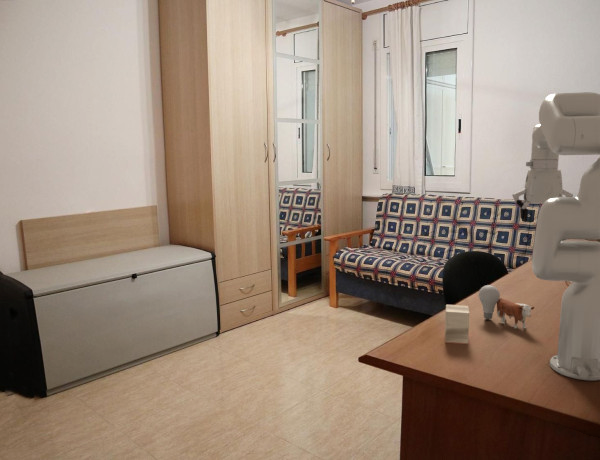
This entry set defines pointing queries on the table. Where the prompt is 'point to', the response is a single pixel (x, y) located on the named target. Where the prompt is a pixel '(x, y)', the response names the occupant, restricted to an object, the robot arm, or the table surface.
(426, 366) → the table surface
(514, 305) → the bull figurine
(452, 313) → the birch block
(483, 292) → the lightbulb
